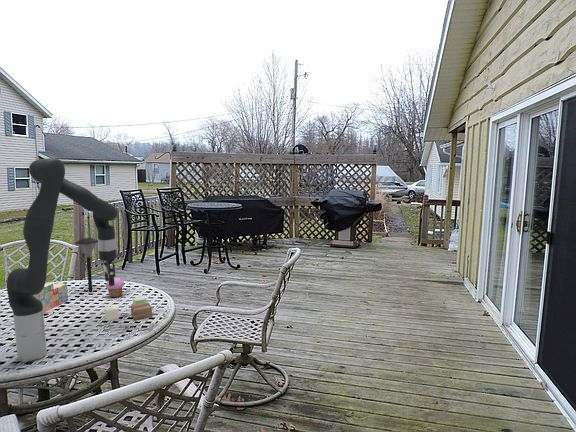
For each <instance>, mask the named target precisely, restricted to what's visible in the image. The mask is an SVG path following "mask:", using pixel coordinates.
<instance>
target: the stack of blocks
mask: <svg viewBox="0 0 576 432" xmlns="http://www.w3.org/2000/svg"><path fill="white" fill-rule="evenodd" d="M68 293H69V292H68V286H67V283H51V282H49V283H48V282H46V283H45V286H44V288H43V290H42V291H41V292H40V293H39V294H36V295H33V296H34V297H35V298H37V299H38V300H40V301H41V302H42V304H43V313H45V312H47V311H49V310H52V309H54V308H55V307H58V306H60V305H62V304H64V303H66V302H68V301H69V294H68Z"/></svg>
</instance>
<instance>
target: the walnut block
mask: <svg viewBox="0 0 576 432" xmlns="http://www.w3.org/2000/svg"><path fill="white" fill-rule="evenodd" d="M130 315H131V317H132V318H133V320H134V321H140V320H143V319H149V318H153V307H152V305H151V304H150V303H149V301H146V303H140V304H135V305H133V304H130Z"/></svg>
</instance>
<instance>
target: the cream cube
mask: <svg viewBox="0 0 576 432" xmlns="http://www.w3.org/2000/svg"><path fill="white" fill-rule="evenodd" d="M119 309H120V308H118V306H117V305H113V306H112V305H111V306H106V307H104V315H105V317H104V318H105V320H106V321H107V322H110V321H114V320H119V319H120V313H119V311H120V310H119Z"/></svg>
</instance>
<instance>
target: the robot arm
mask: <svg viewBox="0 0 576 432" xmlns="http://www.w3.org/2000/svg"><path fill="white" fill-rule="evenodd" d="M28 171H29V175H30V176H31V178H32V179H33V180H34V181H36V182H38V183H39V184H40V188H39V192H38V195H37V196H36V197H35V199H34V201H33V202H32V204H30V207H29V208H28V210H27V212H26V214H25V217H24V223H23V228H22V234H23V239H24V242H25V244H26V246H27V248H28V252H29V254H28V255H29V261H28V265H27V266H28V267H27V268H22V267H21V268H20V267H18V268H15V269H13V270H12V271H10V273H9V274H8V276H7V278H6V292H7V298H8V304H9V307H10V309H11V310H12V316H13V325H14V337H15V346H16V347H15V348H16V357H17V360H18V361H19V362H22V363H23V364H24V363H27V362H31V361H36V360H40V359H43V357H45V355H47V352H48V351H47V341H46V340H47V339H46V329H45V328H46V327H45V318H44V317H45V316H44V312H43V304H42V302H41V301H40V300H38V299H37V298H35V297H34V296H33V295H36V294H39V293H40V292H41V291H42V290H43V288H44V286H45V283H47V275H48V262H49V261H48V260H49V251H50V243H51V239H52V234H53V227H54V224H55V218H56V217H55V215H56V211H57V207H58V200H59V196H60V194H61V195H63V196H65V197H66V198H68V199H70V200H72V201H73V202H75V203H76V204H78V205H79V206H80V207H82V208H83V209H85V210H86V211H89V212H92V218H93V223H94V224H95V227H96V230H97V240H98V243H97V249H98V251H97V253H98V260H100V261H102V270H103V272H104V280H105V282H108V281H109V286H114V285H115V284H114V278H116V270H115V269H116V268H115V267H116V265H115V262H113V260H116V259H117V258H118V251H117V249H118V248H117V241H116V233H115V232H116V231H115V227H114V226H113V225H111V224H110V223H109V222H112V221H114V220H115V219H117V217H118V210H117V208H116V207H115V206H114V205H112V204H111V203H109V202H108V201H105V200H103V199H102V198H99V197H98V196H96V194H94V193H93V192H91V191H90V190H89V189H87V188H85V187H83V186H81V185H79V184H77V183H74V182H73V181H71V180H68V179H66V177H65V176H66V168H65V164H64V163H63V161H62V160H60V159H59V158H56V157H52V158H51V157H50V158H49V157H48V158H40V159H36V160H33V161H32V162H31V163H30V165H29V167H28Z"/></svg>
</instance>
